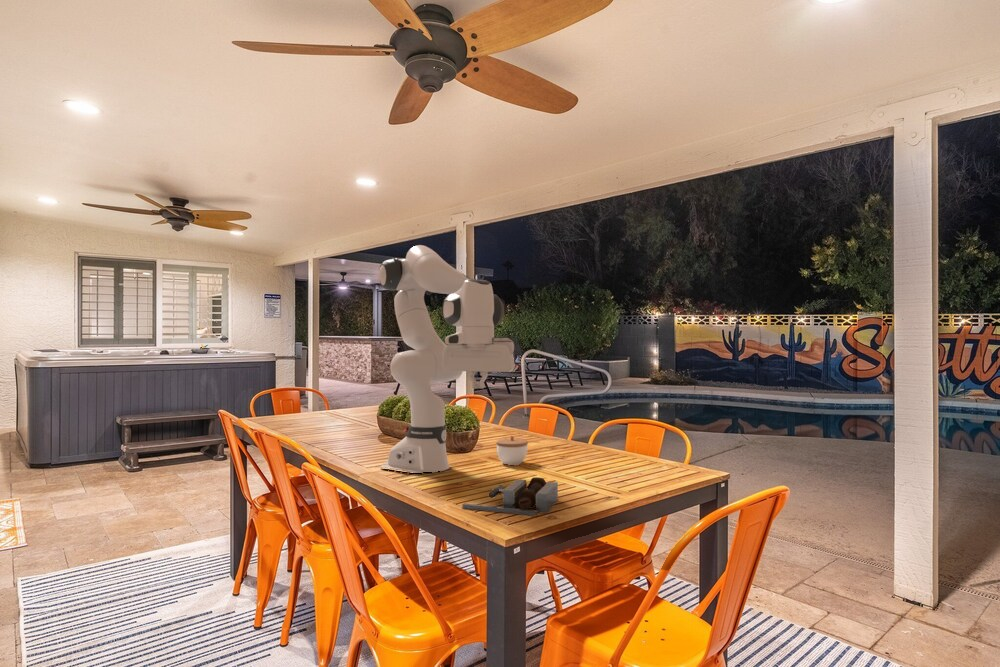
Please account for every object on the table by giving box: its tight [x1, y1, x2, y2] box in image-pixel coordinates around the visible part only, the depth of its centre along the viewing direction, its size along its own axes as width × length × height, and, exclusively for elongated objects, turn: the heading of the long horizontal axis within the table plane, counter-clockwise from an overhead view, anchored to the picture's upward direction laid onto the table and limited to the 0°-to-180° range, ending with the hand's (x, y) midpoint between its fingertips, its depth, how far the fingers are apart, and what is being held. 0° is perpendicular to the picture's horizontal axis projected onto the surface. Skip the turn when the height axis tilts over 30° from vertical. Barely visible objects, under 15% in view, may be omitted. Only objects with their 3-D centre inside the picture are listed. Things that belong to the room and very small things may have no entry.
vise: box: [461, 481, 559, 517], centre depth 145 cm, size 21×15×5 cm
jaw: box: [488, 478, 528, 508], centre depth 147 cm, size 8×12×4 cm, turn 161°
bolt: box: [518, 476, 548, 510], centre depth 146 cm, size 6×5×15 cm
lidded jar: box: [495, 435, 529, 466], centre depth 192 cm, size 11×11×9 cm
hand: (477, 388), depth 154 cm, fingers closed
